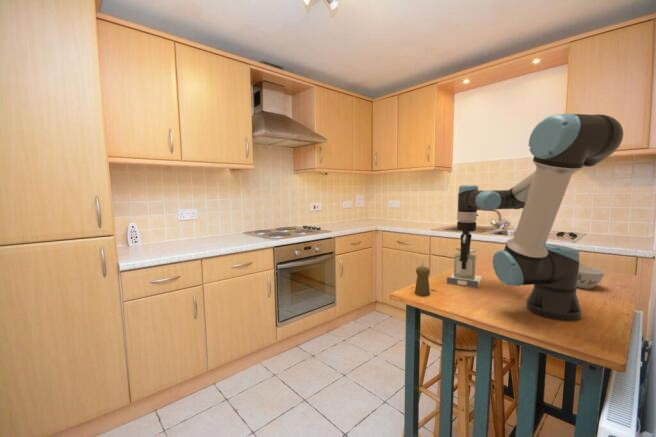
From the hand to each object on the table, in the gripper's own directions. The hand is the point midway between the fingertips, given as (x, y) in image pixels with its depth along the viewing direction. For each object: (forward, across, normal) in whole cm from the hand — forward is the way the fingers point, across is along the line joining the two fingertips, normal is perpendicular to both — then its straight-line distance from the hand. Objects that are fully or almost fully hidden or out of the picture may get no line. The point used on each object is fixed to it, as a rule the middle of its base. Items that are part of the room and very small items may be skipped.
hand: (464, 274), depth 133 cm
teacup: (+5, +22, -44) cm, 49 cm away
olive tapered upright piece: (+5, -20, +13) cm, 25 cm away
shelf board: (+4, +2, 0) cm, 5 cm away
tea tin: (+1, 0, 0) cm, 1 cm away
